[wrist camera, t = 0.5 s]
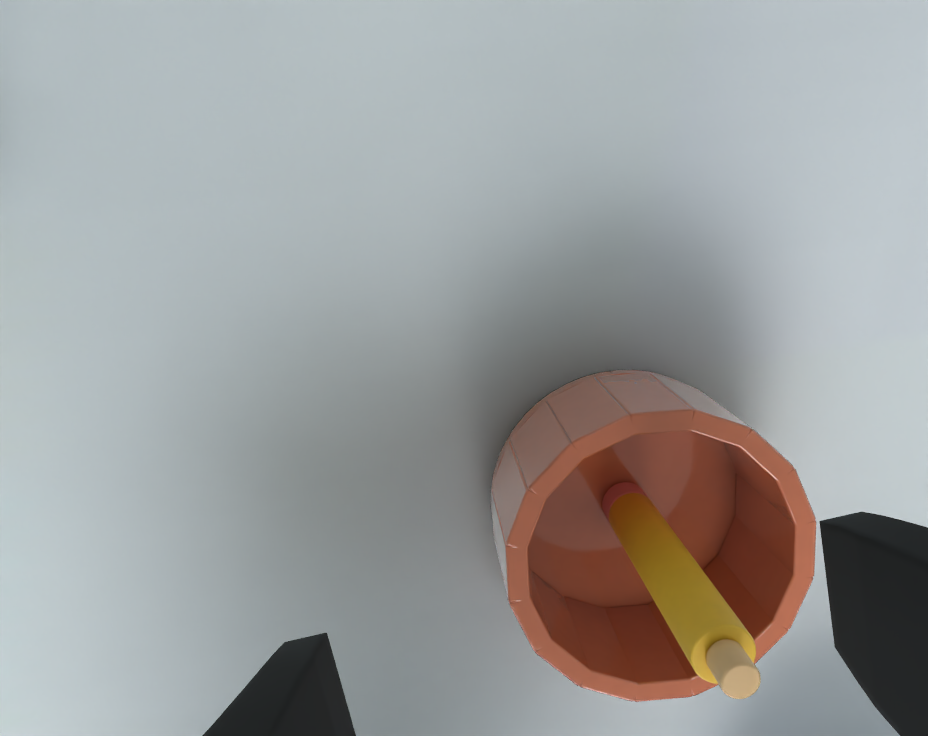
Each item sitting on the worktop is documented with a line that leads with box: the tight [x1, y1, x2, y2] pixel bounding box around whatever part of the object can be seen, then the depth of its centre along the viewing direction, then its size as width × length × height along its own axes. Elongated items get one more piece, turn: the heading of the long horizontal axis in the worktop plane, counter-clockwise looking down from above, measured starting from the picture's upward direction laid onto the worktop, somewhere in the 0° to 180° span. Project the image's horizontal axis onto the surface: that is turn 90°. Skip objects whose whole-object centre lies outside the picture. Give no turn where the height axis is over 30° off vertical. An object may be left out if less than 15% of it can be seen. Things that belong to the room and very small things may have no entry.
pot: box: [491, 370, 816, 702], centre depth 20 cm, size 7×7×4 cm
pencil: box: [602, 482, 761, 699], centre depth 18 cm, size 1×1×8 cm
